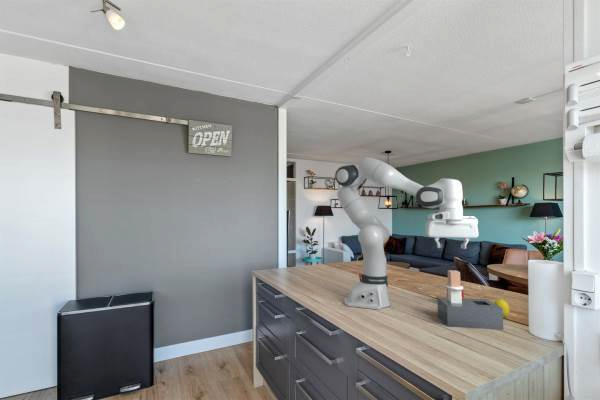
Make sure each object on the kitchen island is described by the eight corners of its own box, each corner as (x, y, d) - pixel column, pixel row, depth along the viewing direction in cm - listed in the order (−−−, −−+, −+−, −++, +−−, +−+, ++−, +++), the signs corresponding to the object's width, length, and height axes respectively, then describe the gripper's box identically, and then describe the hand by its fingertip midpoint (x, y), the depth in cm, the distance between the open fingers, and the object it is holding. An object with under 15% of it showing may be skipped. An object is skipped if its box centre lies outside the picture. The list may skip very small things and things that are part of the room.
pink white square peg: (449, 303, 113) (448, 272, 114) (443, 299, 120) (442, 269, 120) (466, 304, 112) (465, 273, 113) (459, 299, 119) (458, 270, 119)
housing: (447, 326, 110) (447, 305, 111) (437, 315, 122) (437, 297, 123) (503, 329, 107) (502, 308, 108) (487, 318, 119) (487, 299, 119)
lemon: (505, 321, 115) (504, 301, 116) (491, 317, 120) (490, 298, 121) (512, 319, 118) (511, 299, 118) (498, 315, 123) (497, 296, 123)
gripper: (474, 215, 121) (474, 248, 120) (424, 215, 124) (424, 246, 123) (481, 216, 114) (481, 250, 114) (428, 215, 118) (428, 248, 117)
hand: (451, 248), depth 119 cm, fingers open, 8 cm apart
